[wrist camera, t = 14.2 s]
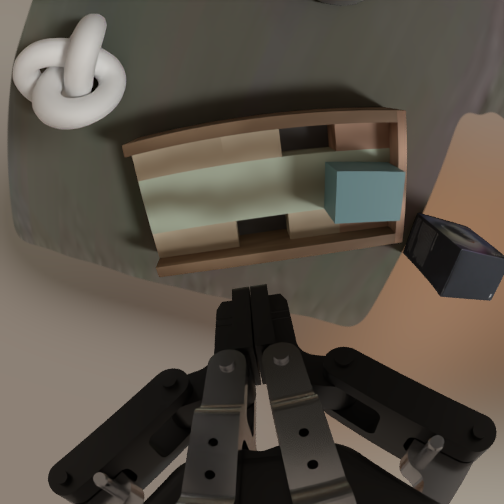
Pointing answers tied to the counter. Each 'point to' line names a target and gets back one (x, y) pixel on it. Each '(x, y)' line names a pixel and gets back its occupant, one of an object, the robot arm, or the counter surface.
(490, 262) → the small box
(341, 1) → the canister
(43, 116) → the white knot sculpture
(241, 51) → the counter surface
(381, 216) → the block
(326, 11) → the counter surface
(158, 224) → the track
